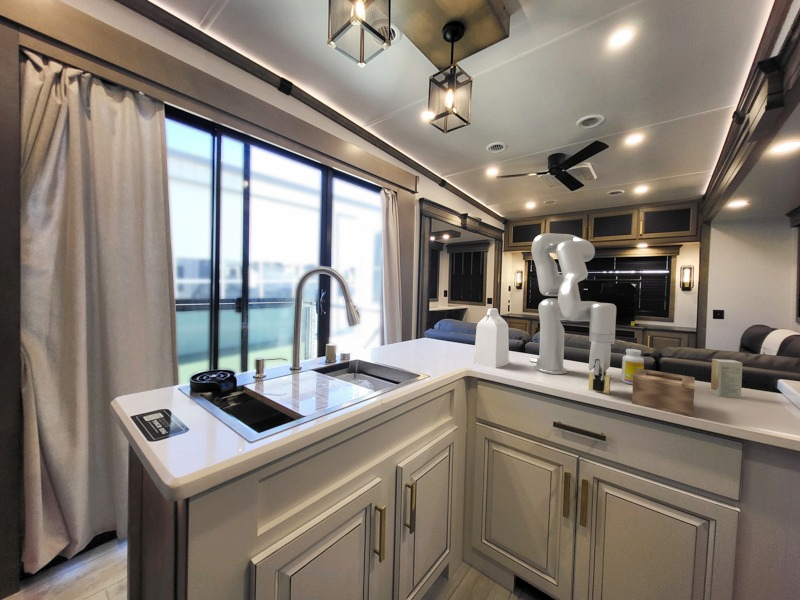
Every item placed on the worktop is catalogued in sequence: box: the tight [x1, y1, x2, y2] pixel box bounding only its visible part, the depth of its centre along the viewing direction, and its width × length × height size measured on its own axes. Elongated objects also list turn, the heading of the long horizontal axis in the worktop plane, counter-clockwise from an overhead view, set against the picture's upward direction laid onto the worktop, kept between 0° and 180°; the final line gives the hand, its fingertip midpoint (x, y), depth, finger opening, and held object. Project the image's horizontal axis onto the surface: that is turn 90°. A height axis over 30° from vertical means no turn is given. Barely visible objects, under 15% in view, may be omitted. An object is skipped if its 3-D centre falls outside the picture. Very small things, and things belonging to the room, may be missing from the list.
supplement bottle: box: [621, 348, 645, 386], centre depth 117 cm, size 7×7×13 cm
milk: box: [473, 308, 510, 369], centre depth 144 cm, size 12×12×26 cm
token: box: [588, 371, 612, 395], centre depth 108 cm, size 6×2×6 cm, turn 46°
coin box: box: [631, 368, 696, 418], centre depth 96 cm, size 14×12×9 cm
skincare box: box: [710, 358, 743, 399], centre depth 105 cm, size 6×4×12 cm
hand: (599, 388), depth 108 cm, fingers open, 3 cm apart
